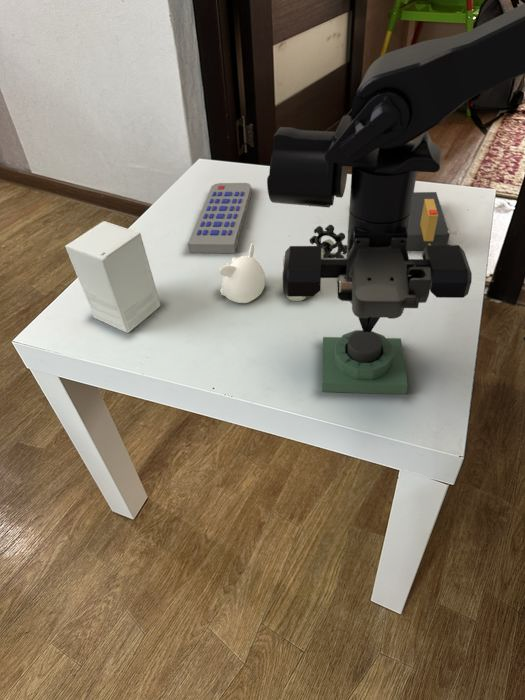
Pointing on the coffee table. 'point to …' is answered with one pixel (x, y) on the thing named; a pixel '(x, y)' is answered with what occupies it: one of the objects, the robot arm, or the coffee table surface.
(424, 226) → the tap handle
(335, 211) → the coffee table surface
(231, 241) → the remote control
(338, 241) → the valve
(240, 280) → the figurine
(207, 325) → the coffee table surface
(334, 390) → the button box
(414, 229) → the panel
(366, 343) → the button
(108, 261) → the white packaging box
